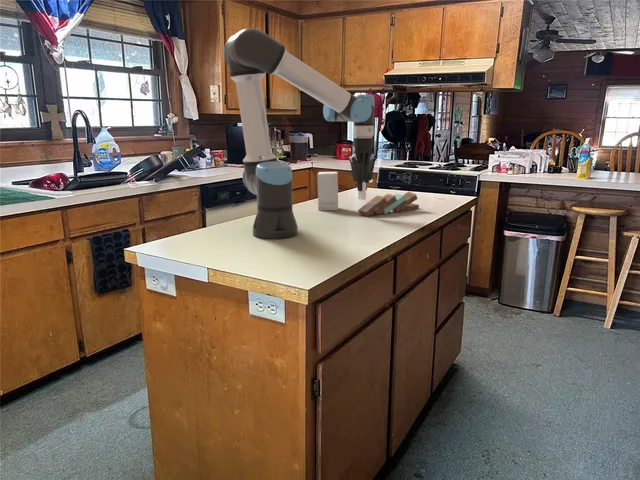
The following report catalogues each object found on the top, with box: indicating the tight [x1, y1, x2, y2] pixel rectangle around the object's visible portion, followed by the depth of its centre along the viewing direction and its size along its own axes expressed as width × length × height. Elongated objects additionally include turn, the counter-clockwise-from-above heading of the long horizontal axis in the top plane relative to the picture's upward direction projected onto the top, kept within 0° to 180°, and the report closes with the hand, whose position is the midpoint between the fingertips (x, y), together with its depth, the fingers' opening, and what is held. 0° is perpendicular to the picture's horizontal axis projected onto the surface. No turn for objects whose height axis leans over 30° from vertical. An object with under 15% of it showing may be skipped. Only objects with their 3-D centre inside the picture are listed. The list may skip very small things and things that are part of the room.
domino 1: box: [357, 194, 387, 218], centre depth 190 cm, size 2×5×11 cm
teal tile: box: [379, 192, 406, 215], centre depth 195 cm, size 2×5×11 cm
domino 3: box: [391, 191, 418, 213], centre depth 197 cm, size 2×5×11 cm
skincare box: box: [316, 171, 339, 211], centre depth 200 cm, size 8×7×16 cm
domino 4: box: [398, 202, 420, 213], centre depth 202 cm, size 2×5×11 cm
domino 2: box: [371, 193, 397, 215], centre depth 193 cm, size 2×5×11 cm
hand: (361, 199), depth 186 cm, fingers closed
